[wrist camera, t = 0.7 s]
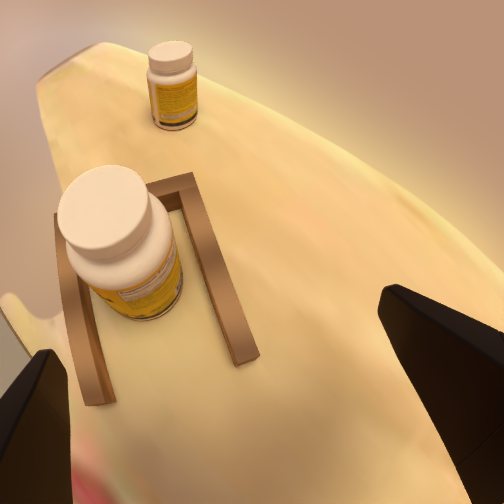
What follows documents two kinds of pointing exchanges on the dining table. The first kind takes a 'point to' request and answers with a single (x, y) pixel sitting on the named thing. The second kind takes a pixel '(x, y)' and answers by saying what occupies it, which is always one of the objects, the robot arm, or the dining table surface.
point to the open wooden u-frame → (214, 272)
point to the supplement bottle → (172, 85)
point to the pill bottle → (121, 241)
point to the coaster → (10, 354)
